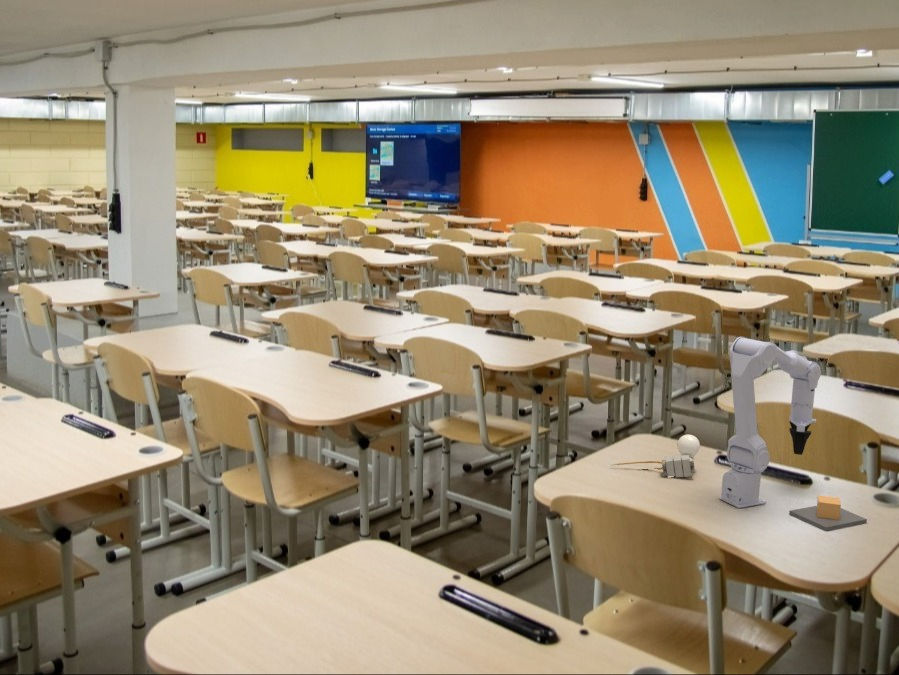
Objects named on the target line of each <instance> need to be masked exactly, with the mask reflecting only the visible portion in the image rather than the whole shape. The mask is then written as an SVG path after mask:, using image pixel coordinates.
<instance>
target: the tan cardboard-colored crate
mask: <svg viewBox="0 0 899 675" xmlns="http://www.w3.org/2000/svg"><path fill="white" fill-rule="evenodd" d="M841 505H842V504H841V499H840V497H835V496H827V495H818V494H817V502H816V506H817V517H821V518H828V519H836V520H839V518H840V508H841V507H842V506H841Z"/></svg>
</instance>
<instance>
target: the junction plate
mask: <svg viewBox="0 0 899 675" xmlns="http://www.w3.org/2000/svg"><path fill="white" fill-rule="evenodd" d="M788 515H790V516H792V517H794V518H795V519H799V520H801V521H803V522H806V523H808V524H809V525H811V526H814V527H816V528H818V529H819V530H820V529H821V530H823V531H825V532H829V531H834V530H838V529H839V530H840V529H843V528H848V527H853V526H858V525H863V524H867V521H868V520H867V518H865V517H863V516H860V515H859V514H856V513H853V512H850V511H848V510H847V509H844V508H840V518H839V520H836V519H828V518H821V517H817V505H813V506H812V505H811V506H806V507H802V508H797V509H791V510H789V513H788Z"/></svg>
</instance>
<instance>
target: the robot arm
mask: <svg viewBox="0 0 899 675" xmlns="http://www.w3.org/2000/svg"><path fill="white" fill-rule="evenodd" d="M729 362H730V371H731V372H730V373H731V374H730V375H731V376H730V377H731V378H730V379H731V389H732V400H733V402H732V403H733V412H734V423H735V434H734V435H732V436H731V437H730V438H729V439H728V440H727V444H728V446H727V451H726V458H727V461H728V462H729V463H730V468H731V469H730V470H728V471H726V472H724V474H723V475H722V478H721V479H722V482H721V494H720V495H721V496H718V499H719V500H721V501H724V502H725V503H728V504H730V505H731V506H734V507H736V508H738V509H741V508H746V507H752V506H753V507H754V506H758V505H764V504H766V503H767V501H766V500H764V499H761V498H760V491H761V490H760V489H761V480H762V478H761V477H762V472H764V471H765V470H766V469H767V467H768V466H769V464H770V457H771V456H770V452H769V450H768V448H767V443H766V442H765V440H764V439H763V438H762V437H761V435H759V432H758V421H757V408H756V396H755V395H756V394H755V383H754V382H755V381H754V380H755V379H756V378H759V377H761V375H762V374H764V372H765V371H766V370H767V369H768V368H769V367H770V365H771V364H772V363H773V362H775V363H777V365H778V368H779V369H780V370H781V371H783V372H784V373H786V374H788V375H789V377H790V379H793V382H792V391H791V392H792V394H791V404H790V414H789V417H788V421H789V422H788V423H789V425H790V427H789V430H788V431H789V433H790V436H791V439H792V447H793V454H794V455H801V456H802V455H803V453H804V450H805V448H806V447H805V446H806V444H807V441H808V439H809V437H810V436H811V434H812V430H809V427H810V426H811V424H816V423H817V419H816V418H813V410H814V402H815V393H816V392H815V390H816V389H817V387H818V383H819V381H820V378H821V376H822V371H821V366H820V365H819V363H817V362H816V361H811V360H808V358H807V356H804V355H802V356H801V355H800V354H799V352H798V351H797V350H793V349H791V350H787V351H785V350H783V349H781V348H780V347H779V346H777V344H775V343H772V342H770V341H761V340H757V339H753V338H746V337H744V336H739V337H736V338H735V340H734V341H733V343H732V344H731V346H730V348H729Z"/></svg>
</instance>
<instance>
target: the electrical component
mask: <svg viewBox="0 0 899 675" xmlns="http://www.w3.org/2000/svg"><path fill="white" fill-rule="evenodd" d="M664 458H665V459H662V460H661V461H650V460H649V461H648V460H647V461H635V462H634V461H633V462H620V463H613V464H612V465H611V466H620V465H633V464H661V467H655V468H654V469H658V470H662V475H663V477H668V476H675V478H684V477H685V478H687V477H692V474H693V475H694V474H695V473H696V468H695V463H694V459H693V457H689V454H684V455H682V456H681V454H674V455H666V456H665V457H664ZM658 470H657V471H658Z"/></svg>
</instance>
